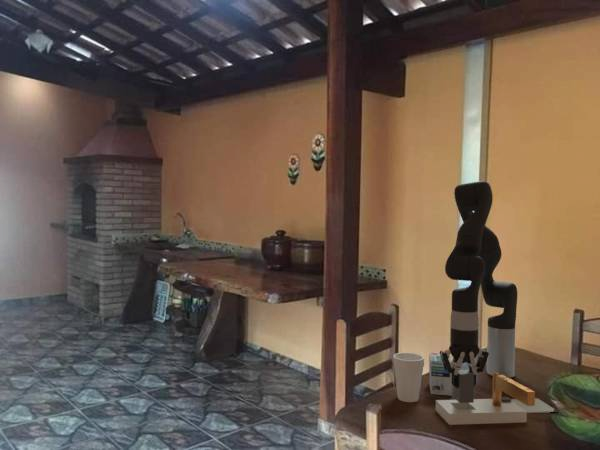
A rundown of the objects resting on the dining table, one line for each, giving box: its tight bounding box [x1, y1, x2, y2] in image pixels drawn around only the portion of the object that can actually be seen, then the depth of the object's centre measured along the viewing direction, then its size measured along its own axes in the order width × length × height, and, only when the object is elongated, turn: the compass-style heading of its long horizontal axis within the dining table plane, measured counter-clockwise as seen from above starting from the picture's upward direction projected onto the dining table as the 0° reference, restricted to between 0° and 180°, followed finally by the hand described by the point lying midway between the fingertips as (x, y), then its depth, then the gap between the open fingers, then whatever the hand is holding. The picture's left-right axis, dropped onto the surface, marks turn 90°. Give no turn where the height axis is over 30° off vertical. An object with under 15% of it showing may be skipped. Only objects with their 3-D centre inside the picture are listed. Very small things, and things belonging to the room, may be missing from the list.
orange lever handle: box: [491, 372, 536, 406], centre depth 134 cm, size 2×16×9 cm, turn 11°
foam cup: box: [392, 352, 425, 403], centre depth 153 cm, size 10×9×13 cm
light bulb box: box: [428, 352, 453, 397], centre depth 162 cm, size 11×7×11 cm, turn 168°
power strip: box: [435, 396, 528, 426], centre depth 140 cm, size 10×22×4 cm, turn 96°
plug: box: [453, 369, 475, 403], centre depth 139 cm, size 4×4×8 cm
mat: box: [510, 398, 555, 414], centre depth 148 cm, size 10×10×1 cm
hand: (463, 386), depth 139 cm, fingers closed on plug, 4 cm apart
